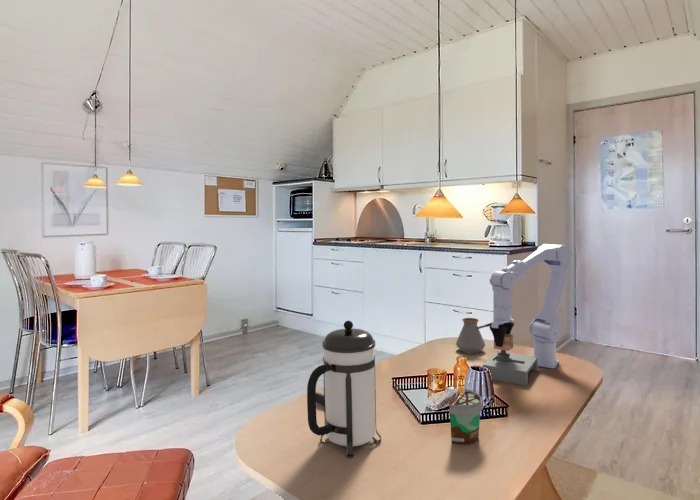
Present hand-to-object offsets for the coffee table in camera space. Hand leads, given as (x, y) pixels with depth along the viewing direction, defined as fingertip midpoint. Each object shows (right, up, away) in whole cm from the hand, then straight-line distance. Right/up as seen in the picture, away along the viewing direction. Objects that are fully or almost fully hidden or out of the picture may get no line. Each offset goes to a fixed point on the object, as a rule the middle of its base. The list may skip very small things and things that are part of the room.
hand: (502, 344), depth 156 cm
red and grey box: (-54, -13, -20) cm, 59 cm away
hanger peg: (0, -4, 0) cm, 4 cm away
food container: (-23, -14, -46) cm, 53 cm away
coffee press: (-53, -14, -48) cm, 73 cm away
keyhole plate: (+3, -10, -1) cm, 10 cm away
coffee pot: (-1, -9, +23) cm, 24 cm away
